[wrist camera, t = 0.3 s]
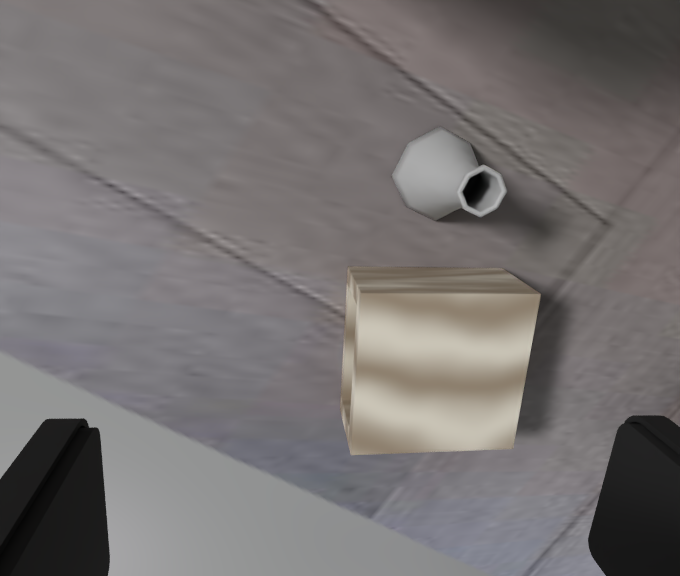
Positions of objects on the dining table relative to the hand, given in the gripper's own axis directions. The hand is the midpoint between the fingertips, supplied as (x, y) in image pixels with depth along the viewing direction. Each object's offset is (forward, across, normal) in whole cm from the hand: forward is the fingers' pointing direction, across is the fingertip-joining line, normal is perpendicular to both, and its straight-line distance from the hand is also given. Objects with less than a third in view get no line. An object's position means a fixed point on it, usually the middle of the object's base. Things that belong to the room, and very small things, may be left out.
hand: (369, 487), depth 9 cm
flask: (+35, -12, -3) cm, 37 cm away
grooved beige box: (+35, -12, +12) cm, 39 cm away
